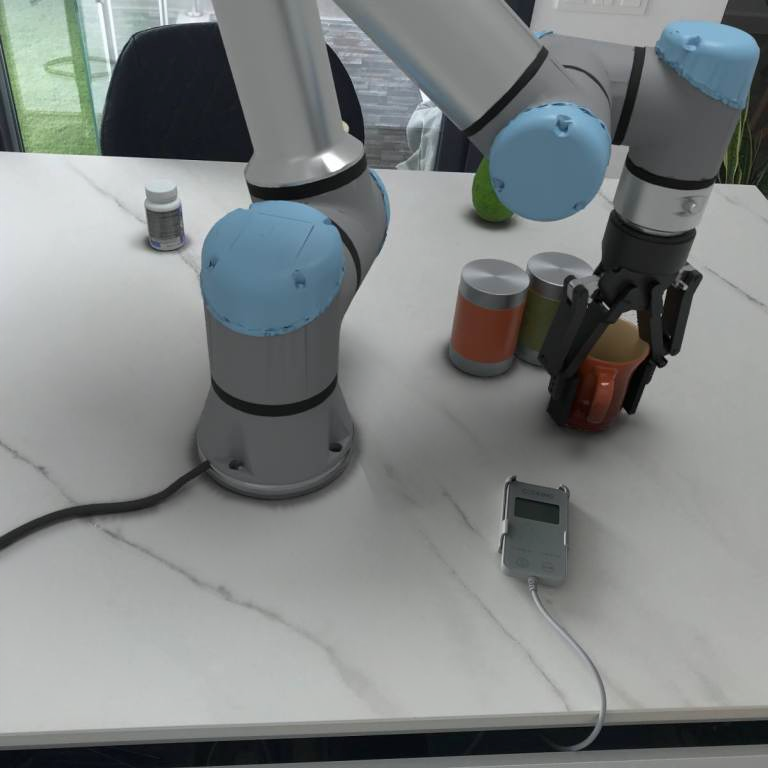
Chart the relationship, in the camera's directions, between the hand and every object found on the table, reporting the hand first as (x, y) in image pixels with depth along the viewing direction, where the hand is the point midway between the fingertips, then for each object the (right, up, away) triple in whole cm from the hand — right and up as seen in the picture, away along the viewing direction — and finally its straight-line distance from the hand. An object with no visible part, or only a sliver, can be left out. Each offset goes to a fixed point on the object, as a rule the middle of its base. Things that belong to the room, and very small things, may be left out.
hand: (590, 412), depth 82 cm
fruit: (-5, +28, +36) cm, 46 cm away
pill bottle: (-51, +22, +24) cm, 61 cm away
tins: (-7, +7, +10) cm, 14 cm away
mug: (-1, -1, +1) cm, 2 cm away
